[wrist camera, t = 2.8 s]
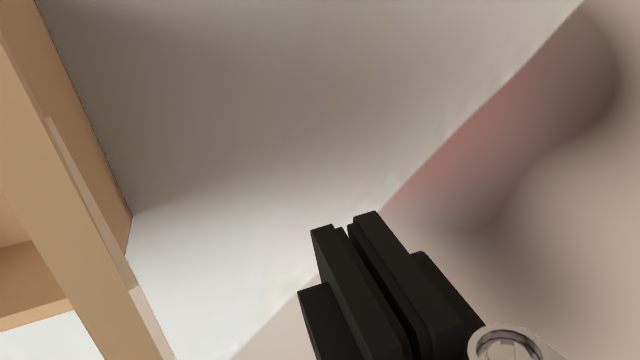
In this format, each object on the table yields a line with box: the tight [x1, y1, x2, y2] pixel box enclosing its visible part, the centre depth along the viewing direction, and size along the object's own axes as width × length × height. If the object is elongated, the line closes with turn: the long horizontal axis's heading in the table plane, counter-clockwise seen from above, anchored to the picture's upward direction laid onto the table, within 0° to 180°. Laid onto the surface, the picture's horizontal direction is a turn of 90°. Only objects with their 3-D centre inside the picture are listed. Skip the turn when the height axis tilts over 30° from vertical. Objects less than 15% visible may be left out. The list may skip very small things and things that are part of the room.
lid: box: [0, 31, 176, 360], centre depth 14 cm, size 14×14×1 cm
